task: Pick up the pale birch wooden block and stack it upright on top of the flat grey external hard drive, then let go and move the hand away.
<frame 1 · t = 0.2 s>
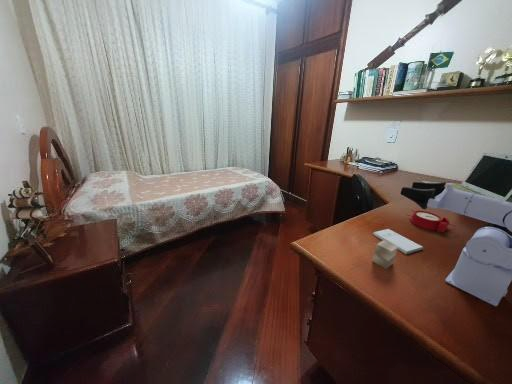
hand: (407, 187, 61), 21 cm above the table, tool horizontal, fingers open, 7 cm apart
alarm clock: (429, 226, 85), on the table
external hard drive: (395, 243, 73), on the table
birch block: (382, 262, 62), on the table
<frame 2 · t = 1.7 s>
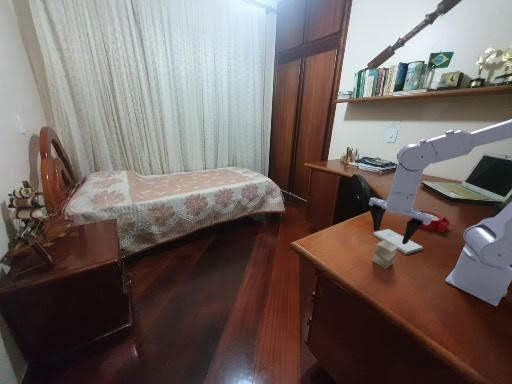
hand: (389, 236, 59), 9 cm above the table, tool pointing down, fingers open, 7 cm apart
nothing on the table moved.
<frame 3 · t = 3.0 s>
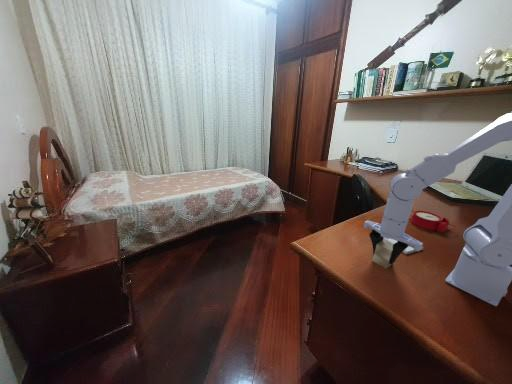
hand: (383, 258, 61), 1 cm above the table, tool pointing down, fingers closed on birch block, 4 cm apart
birch block: (382, 262, 62), on the table, touching gripper
everything else where it was.
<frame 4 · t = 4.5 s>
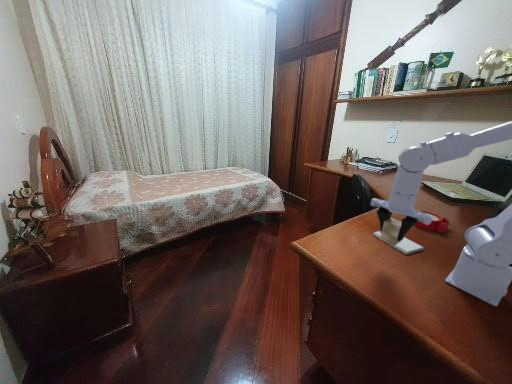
hand: (391, 235, 60), 8 cm above the table, tool pointing down, fingers closed on birch block, 4 cm apart
birch block: (389, 240, 60), point 7 cm above the table, touching gripper
everything else where it was.
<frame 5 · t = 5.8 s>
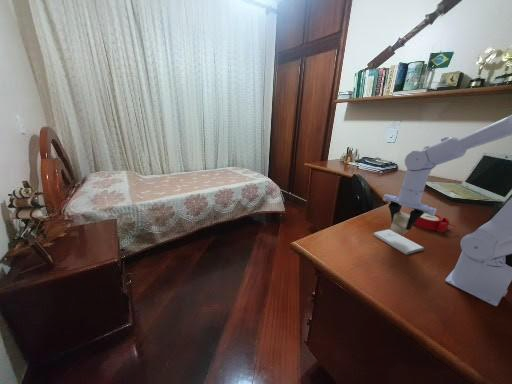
hand: (400, 226, 71), 6 cm above the table, tool pointing down, fingers closed on birch block, 4 cm apart
birch block: (399, 230, 71), point 4 cm above the table, touching gripper
everything else where it was.
when the fingers open (5 cm above the table, at t = 6.4 s): birch block drops 2 cm, resting on external hard drive.
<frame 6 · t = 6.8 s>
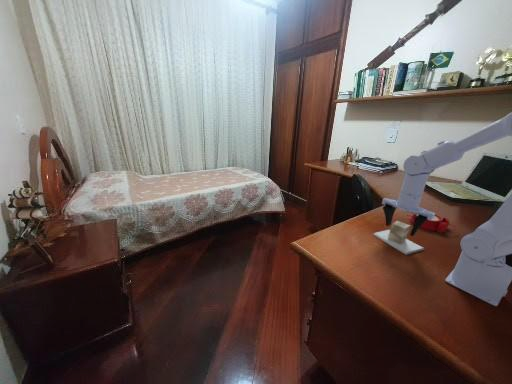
hand: (399, 229, 71), 5 cm above the table, tool pointing down, fingers open, 7 cm apart
external hard drive: (396, 244, 73), on the table, touching birch block
birch block: (396, 239, 72), point 1 cm above the table, touching external hard drive
everything else where it was.
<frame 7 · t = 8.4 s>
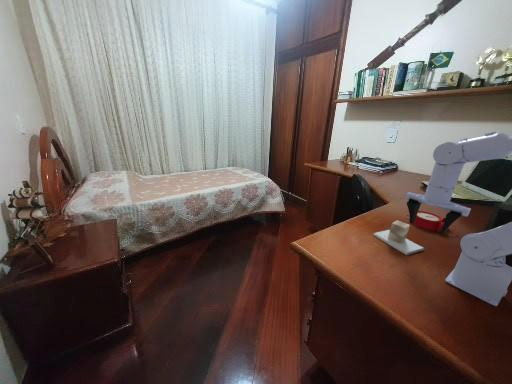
hand: (426, 228, 63), 9 cm above the table, tool pointing down, fingers open, 7 cm apart
nothing on the table moved.
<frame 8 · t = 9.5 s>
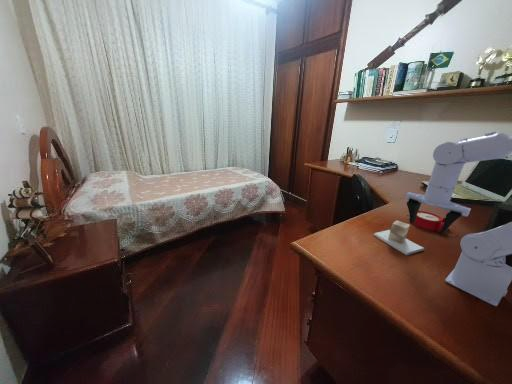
hand: (426, 228, 63), 9 cm above the table, tool pointing down, fingers open, 7 cm apart
nothing on the table moved.
at the end: birch block inside the target area on the external hard drive (0.4 cm from its centre), point 1.8 cm above the external hard drive's base; birch block tilted 0°; the gripper is holding nothing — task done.
